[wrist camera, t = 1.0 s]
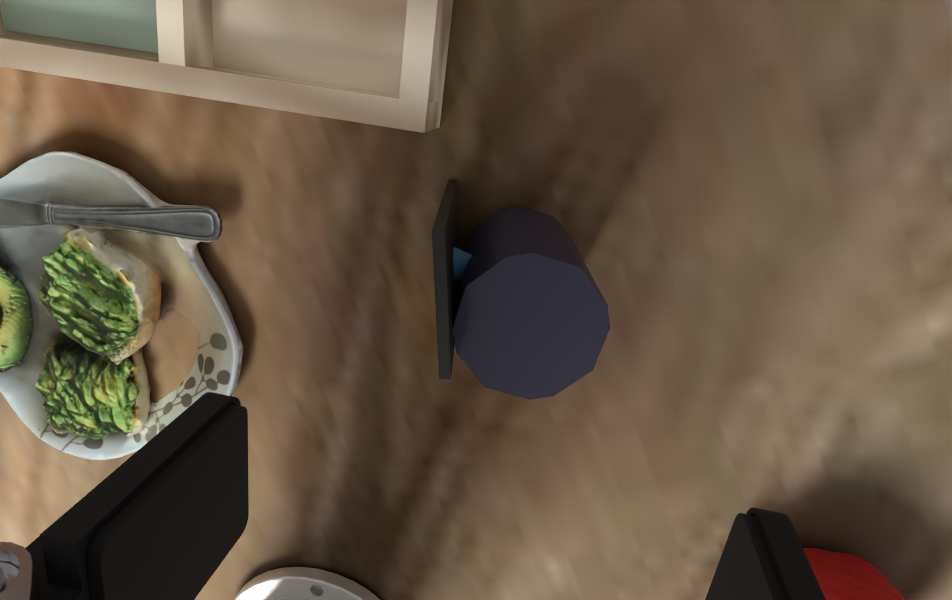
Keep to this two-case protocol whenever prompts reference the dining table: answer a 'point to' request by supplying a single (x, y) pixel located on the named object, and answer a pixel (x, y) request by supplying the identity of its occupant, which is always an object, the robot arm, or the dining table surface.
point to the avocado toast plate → (102, 304)
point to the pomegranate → (849, 577)
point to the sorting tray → (248, 52)
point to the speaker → (515, 301)
